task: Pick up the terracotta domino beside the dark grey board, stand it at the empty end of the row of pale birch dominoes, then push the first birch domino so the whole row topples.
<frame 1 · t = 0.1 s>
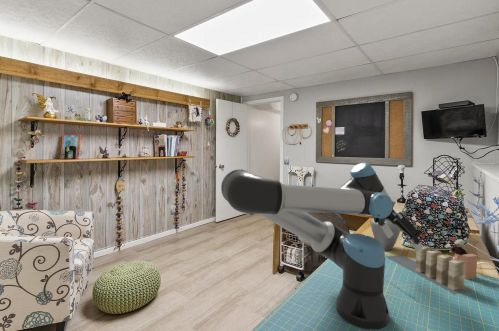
hand: (404, 242, 98), 15 cm above the table, tool tilted 35°, fingers open, 13 cm apart
domino 1: (455, 288, 92), point 1 cm above the table, touching domino board
domino 5: (468, 279, 100), on the table
domino 4: (422, 270, 105), point 1 cm above the table, touching domino board
vase: (384, 248, 132), on the table
grandmother figurine: (458, 268, 111), on the table
domino 3: (432, 276, 101), point 1 cm above the table, touching domino board
domino 2: (443, 281, 97), point 1 cm above the table, touching domino board
domino board: (423, 273, 105), on the table
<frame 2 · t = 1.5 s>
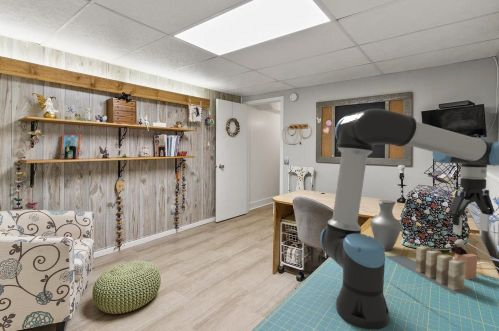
hand: (470, 231, 99), 19 cm above the table, tool pointing down, fingers open, 13 cm apart
nothing on the table moved.
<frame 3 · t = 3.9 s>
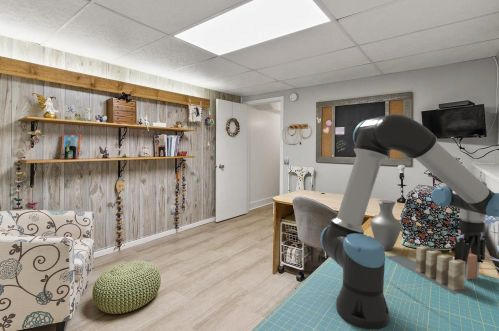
hand: (468, 277, 100), 1 cm above the table, tool pointing down, fingers closed on domino 5, 5 cm apart
domino 5: (468, 279, 100), on the table, touching gripper
everything else where it was.
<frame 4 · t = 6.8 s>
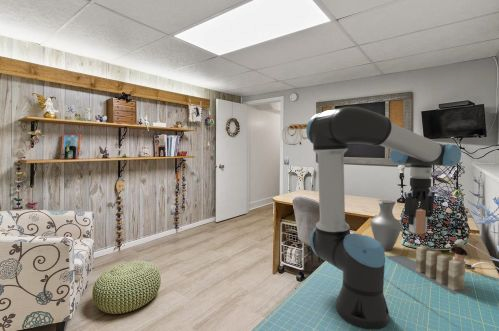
hand: (417, 231, 108), 17 cm above the table, tool pointing down, fingers closed on domino 5, 5 cm apart
domino 5: (417, 233, 108), point 16 cm above the table, touching gripper
everything else where it was.
when the fingers open (3 cm above the table, at t = 9.9 s): domino 5 stays where it is, resting on domino board.
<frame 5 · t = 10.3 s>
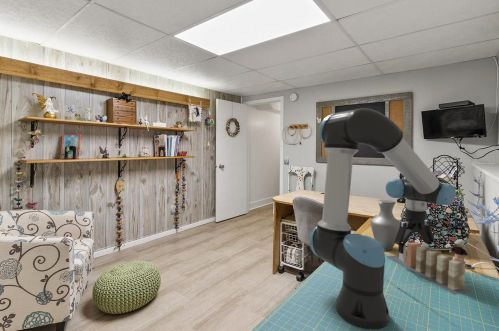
hand: (413, 259, 110), 4 cm above the table, tool pointing down, fingers open, 11 cm apart
domino 5: (413, 266, 110), point 1 cm above the table, touching domino board
everything else where it was.
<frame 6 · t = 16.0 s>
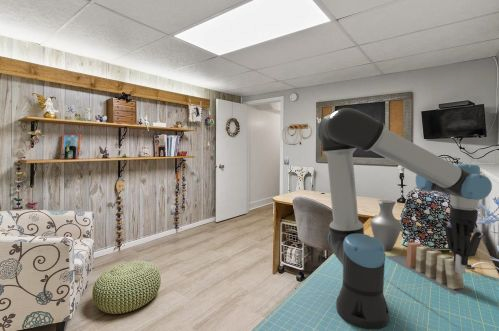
hand: (460, 272, 91), 7 cm above the table, tool pointing down, fingers closed
domino 1: (455, 287, 92), point 1 cm above the table, tilted 10°, touching domino board
everything else where it was.
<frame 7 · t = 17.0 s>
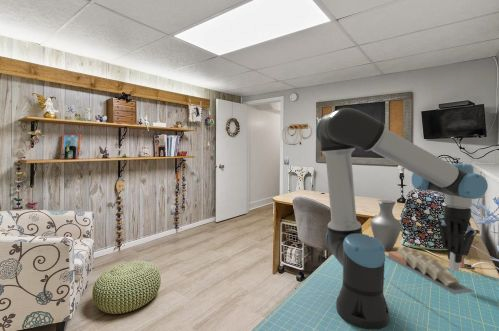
hand: (454, 269, 93), 7 cm above the table, tool pointing down, fingers closed
domino 1: (453, 284, 93), point 2 cm above the table, tilted 64°, touching domino 2, domino board
domino 5: (410, 262, 111), point 2 cm above the table, tilted 90°, touching domino 4, domino board
domino 4: (419, 267, 107), point 2 cm above the table, tilted 64°, touching domino 3, domino 5
domino 3: (430, 272, 102), point 2 cm above the table, tilted 64°, touching domino 2, domino 4, domino board
domino 2: (441, 278, 98), point 2 cm above the table, tilted 64°, touching domino 1, domino 3
everything else where it was.
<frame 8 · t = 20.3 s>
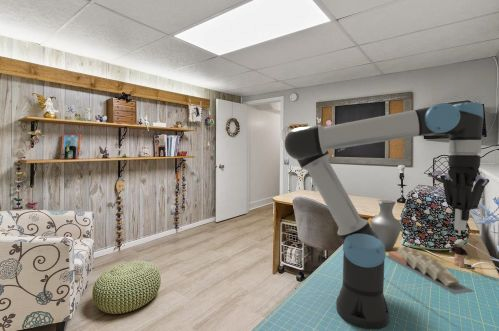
hand: (459, 229, 79), 26 cm above the table, tool pointing down, fingers closed
nothing on the table moved.
at the end: domino 1 tilted 64°; domino 5 tilted 90°; domino 5 inside the target area (0.8 cm from its centre), point 2.0 cm above the table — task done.
